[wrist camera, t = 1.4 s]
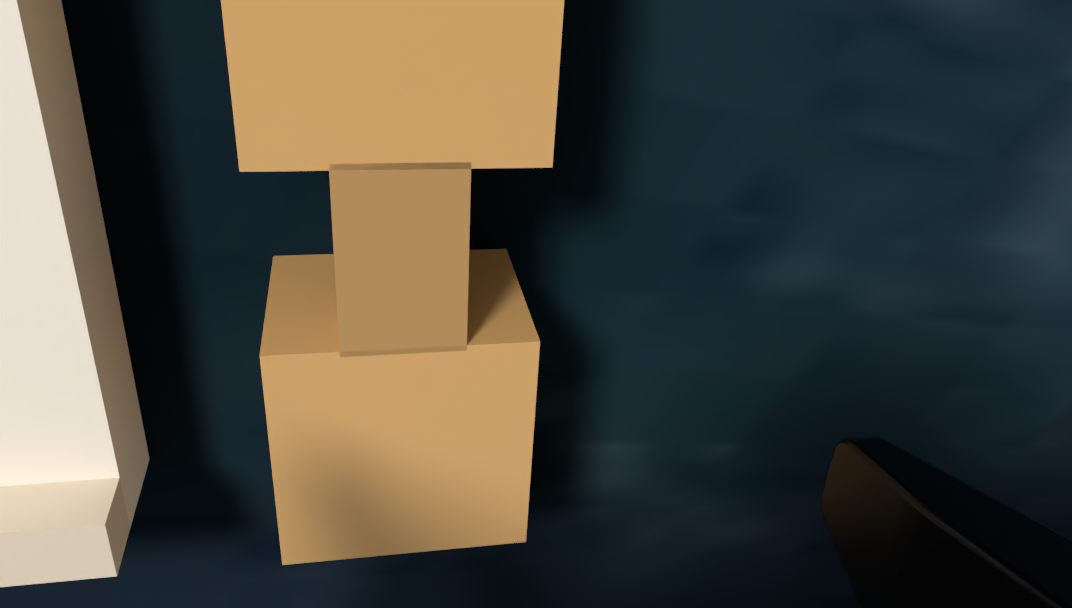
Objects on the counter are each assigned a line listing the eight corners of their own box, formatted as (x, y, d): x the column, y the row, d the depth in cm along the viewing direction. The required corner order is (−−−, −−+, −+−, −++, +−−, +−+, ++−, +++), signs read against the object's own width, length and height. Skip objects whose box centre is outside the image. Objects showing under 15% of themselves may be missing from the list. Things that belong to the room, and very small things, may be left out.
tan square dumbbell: (525, -180, 14) (576, -171, 11) (497, 428, 20) (525, 541, 17) (231, -198, 13) (199, -194, 10) (290, 442, 19) (282, 564, 16)
